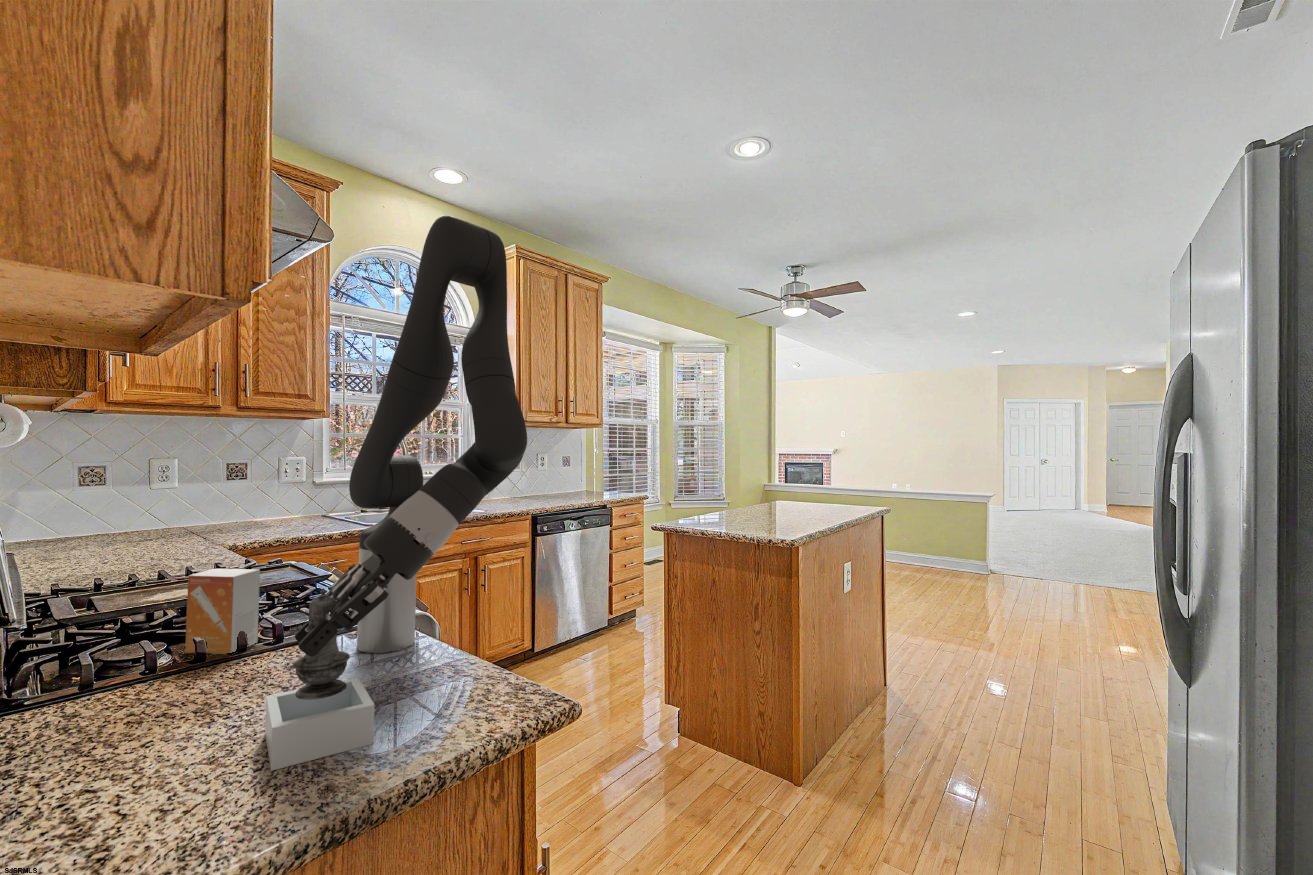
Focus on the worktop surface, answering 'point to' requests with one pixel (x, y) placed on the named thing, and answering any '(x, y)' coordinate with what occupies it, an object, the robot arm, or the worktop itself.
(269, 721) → the sleeve
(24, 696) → the worktop surface
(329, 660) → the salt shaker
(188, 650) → the small box
